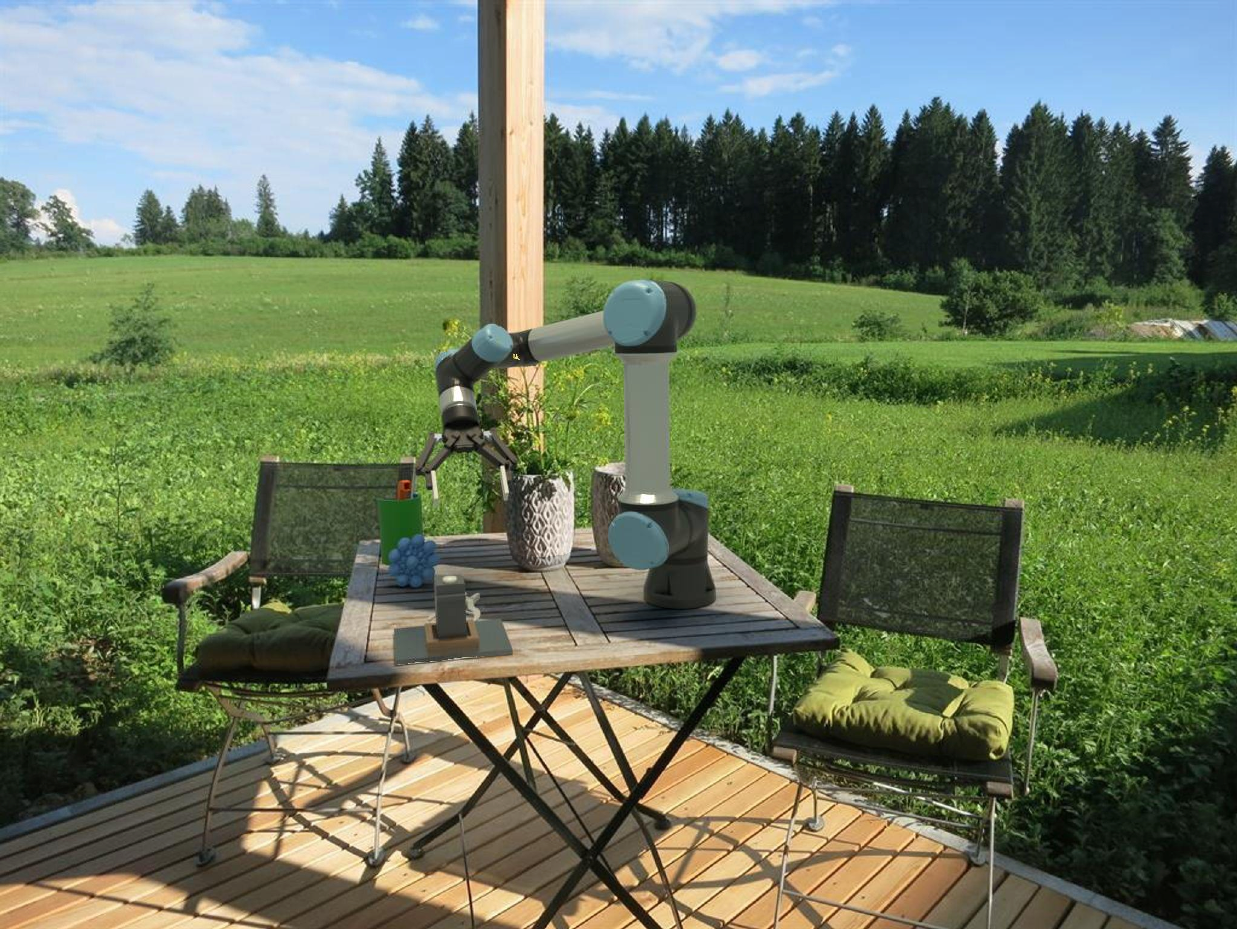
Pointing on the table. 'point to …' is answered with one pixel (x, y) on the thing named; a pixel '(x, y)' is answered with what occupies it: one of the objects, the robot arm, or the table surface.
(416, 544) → the grapes
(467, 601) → the pliers
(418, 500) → the green pencil holder
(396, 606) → the table surface
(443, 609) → the servo
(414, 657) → the plate
